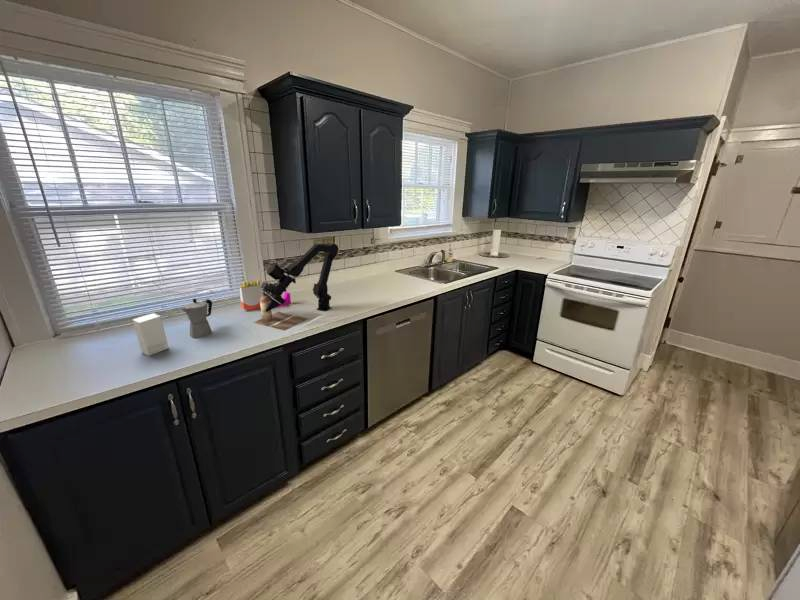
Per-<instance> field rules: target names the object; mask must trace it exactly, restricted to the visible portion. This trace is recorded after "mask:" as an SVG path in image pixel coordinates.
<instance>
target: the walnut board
mask: <svg viewBox="0 0 800 600" xmlns="http://www.w3.org/2000/svg"><path fill="white" fill-rule="evenodd" d="M309 319H310V317H309V318H308V317H304V316H299V315H296V314H291V313H286V312H281V311H277V312H275V313H272V321H269V322H263V321H262V318H261V319H258V320H256V321H253V322H252V323H254V324H256V325H262V326H264V327H268V328H273V329H276V330H280V331H284V332H285V331H287V330H289V329H292V328H293V327H295V326H297V325H299V324H301V323H303V322H306V321H308V320H309Z"/></svg>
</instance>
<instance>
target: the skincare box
mask: <svg viewBox="0 0 800 600" xmlns="http://www.w3.org/2000/svg"><path fill="white" fill-rule="evenodd" d="M132 323H133V327H134V331H135V333H136V334H135V335H136V337H137V341H138V345H139V348H140V353H142V354H144V355H146V356H152V355H155V354H158V353H161V352H162V351H166V350H169V344H168V339H167V335H166V331H165V328H164V327H165V326H164V324H163V320H162V316H161V315H159V314H157V313H150V314H147V315H143V316H139V317H137V318H132Z"/></svg>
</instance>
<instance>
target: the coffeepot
mask: <svg viewBox="0 0 800 600" xmlns="http://www.w3.org/2000/svg"><path fill="white" fill-rule="evenodd" d="M212 307H213V301H212V300H210V299H209V298H207V299H204V300H201V301H197V298H193V299H192V302H190V303H187V304H185V305H183V308H182V312H184V313H186V317H187V319H188V320H189V322H190V323H189V336H190V337H191V338H194V339H202V338H205V337H208V336H210V335H211V334H212V332H213V330H212V328H211V325H210V323H209V321H208V319H207V317H209V316H211V315H212Z"/></svg>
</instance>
